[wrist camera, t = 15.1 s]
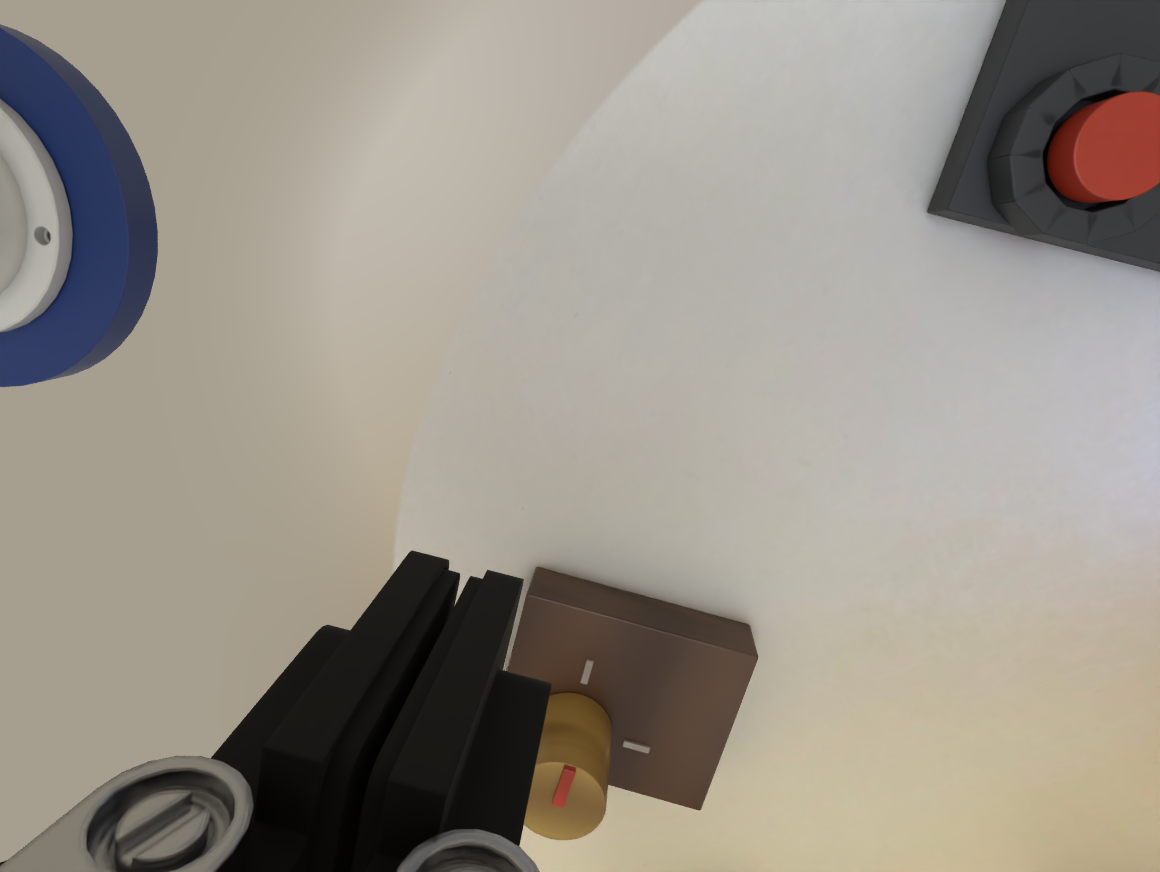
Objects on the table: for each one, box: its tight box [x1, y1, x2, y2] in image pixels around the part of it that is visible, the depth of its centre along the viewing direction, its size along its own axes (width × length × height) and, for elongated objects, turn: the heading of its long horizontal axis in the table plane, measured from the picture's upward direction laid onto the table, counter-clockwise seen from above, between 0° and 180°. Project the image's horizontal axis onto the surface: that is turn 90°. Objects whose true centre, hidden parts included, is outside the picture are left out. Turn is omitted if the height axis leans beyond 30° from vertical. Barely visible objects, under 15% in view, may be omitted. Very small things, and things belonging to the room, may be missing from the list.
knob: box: [524, 693, 612, 840], centre depth 33 cm, size 4×4×5 cm
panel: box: [507, 567, 758, 810], centre depth 36 cm, size 12×11×3 cm
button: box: [1047, 91, 1160, 203], centre depth 25 cm, size 4×4×2 cm
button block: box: [928, 0, 1160, 272], centre depth 26 cm, size 12×10×4 cm
